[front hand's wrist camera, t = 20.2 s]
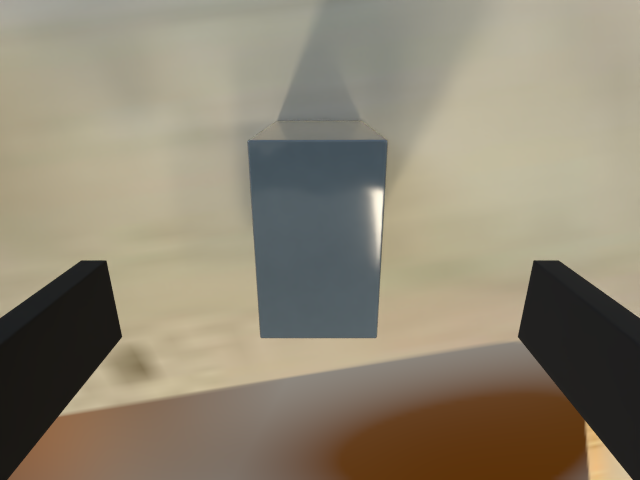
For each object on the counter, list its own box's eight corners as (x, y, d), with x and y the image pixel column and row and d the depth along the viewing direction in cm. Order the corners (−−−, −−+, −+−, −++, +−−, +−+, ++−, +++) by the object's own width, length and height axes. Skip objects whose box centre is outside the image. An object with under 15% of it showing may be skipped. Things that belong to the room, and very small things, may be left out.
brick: (362, 120, 25) (388, 139, 15) (357, 252, 29) (377, 338, 19) (276, 120, 25) (247, 140, 15) (281, 252, 29) (260, 338, 19)
